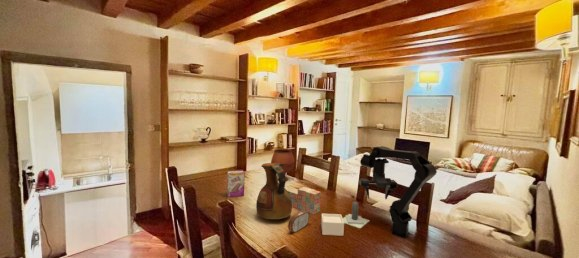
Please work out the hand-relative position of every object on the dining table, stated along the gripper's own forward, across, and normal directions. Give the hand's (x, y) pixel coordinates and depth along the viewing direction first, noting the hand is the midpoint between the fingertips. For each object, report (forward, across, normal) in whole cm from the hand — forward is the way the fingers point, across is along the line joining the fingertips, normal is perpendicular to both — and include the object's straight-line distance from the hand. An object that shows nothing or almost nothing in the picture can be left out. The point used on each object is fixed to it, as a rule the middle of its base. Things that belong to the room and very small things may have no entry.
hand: (377, 198), depth 137 cm
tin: (+13, -41, -12) cm, 45 cm away
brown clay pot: (+13, -57, +70) cm, 91 cm away
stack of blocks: (+14, -40, +14) cm, 44 cm away
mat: (+13, -11, 0) cm, 17 cm away
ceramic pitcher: (+13, -55, 0) cm, 57 cm away
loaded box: (+13, -25, -12) cm, 30 cm away
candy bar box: (+13, -85, +29) cm, 91 cm away
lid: (+13, -11, 0) cm, 17 cm away
